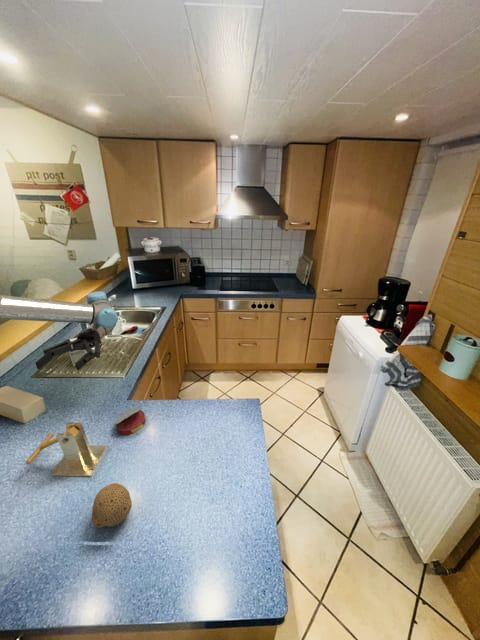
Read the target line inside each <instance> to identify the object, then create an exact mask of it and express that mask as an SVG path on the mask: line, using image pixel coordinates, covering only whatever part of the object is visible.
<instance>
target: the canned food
mask: <svg viewBox="0 0 480 640" xmlns="http://www.w3.org/2000/svg"><path fill="white" fill-rule="evenodd" d="M114 424H115V426H116V428H117V431H118V433H120V434H121V435H125V436H127V435H133V434H136V433H137V432H139V431H140V430H142V429H143V428H144V426H145V425H146V414H145V412H144V411H142V406H141V407H140V406H136V407H134V408H130V409H129V410H127V411H124V412H122V413H121V414H120V415H118V417H117V418H116V419H115V420H114Z"/></svg>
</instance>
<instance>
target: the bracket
mask: <svg viewBox="0 0 480 640" xmlns="http://www.w3.org/2000/svg"><path fill="white" fill-rule="evenodd" d="M64 426H65V428H66V430H67V429H69V428H71V427H73V426H74V427H75V428H76V429H77V430H78V431H79V432H78V434H77V435H76V437H74V434H68V433H65V432H64V433H63V432H62V433H61V432H59V433H57V435H55V436H56V437H55V438H57V439H58V442H57V443H58V444H59V446H60V449H61V451H62V453H63V457H62V458H61V459H60V461H59V462H58V463H57V465H56V467H55V468H54V470H53V471H52V472H51V474H50V475H51V476H52V477H80V478H81V477H84V478H85V477H86V478H87V477H90V478H92V477H93V475H94V473H95V471H96V469H97V467H98V466H99V465H100V463H101V460H102V459H103V457H104V455H105V453H106V451H107V450H108V447H109V446H108V445H90V443H89V440H88V437H87V435H86V431H85V429H84V426H83V423H82V422H74V421H73V422H71V421H70V422H69V421H67V422H66V423H65V424H64Z"/></svg>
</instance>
